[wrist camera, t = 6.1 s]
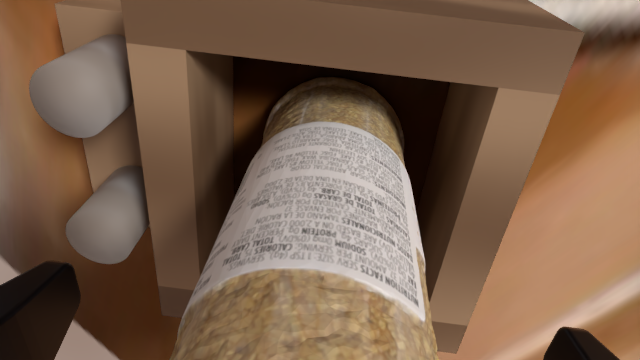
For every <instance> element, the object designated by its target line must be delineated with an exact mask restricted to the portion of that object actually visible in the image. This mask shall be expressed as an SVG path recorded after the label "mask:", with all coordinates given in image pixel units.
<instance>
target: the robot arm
mask: <svg viewBox="0 0 640 360" xmlns="http://www.w3.org/2000/svg"><path fill="white" fill-rule="evenodd" d="M79 303H80V290H79V287H78V283H77V279H76V275H75V271H74V268H73V266H72V265H71V264H70V263H66V262H58V261H46V262H43V263H41V264H39V265H38V266H36V267H34V268H32V269H30V270H28V271H26V272H24V273H23V274H21V275H19V276H17V277H15V278H13V279H11V280H9V281H8V282H6V283H4V284H2V285H0V360H54V359H55V356H56V354H57V352H58V350H59V348H60V346H61V344H62V341H63V339H64V337H65V335H66V333H67V330H68V328H69V326H70V324H71V322H72V320H73V318H74V316H75V313H76V311H77V309H78V307H79ZM543 360H620V359H619V358H617V357H616V356H615V355H614V354H613V353H612V352H611V351H610V350H609V349H607V348H606V347H605V346H604V345H603V344H602V343H601V342H600V341H598V340H597V339H596V338H595V337H594V336H593V335H592V334H591V333H589V332H588V331H586V330H584V329H579V328H571V327H562V328H560V329H559V330H558V331H557V333H556V335H555V336H554V338H553V340H552V342H551V344H550V345H549V347H548V349H547V351H546V353H545V355H544V359H543Z"/></svg>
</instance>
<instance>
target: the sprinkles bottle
mask: <svg viewBox="0 0 640 360" xmlns="http://www.w3.org/2000/svg"><path fill="white" fill-rule="evenodd" d="M403 153H404V134H403V131H402V127H401V123H400V121H399V119H398V117H397V115H396V113H395V111H394V110H393V108H392V107H391V106H390V104H389V103H388V102H387V101H386V100H385V99H384V98H383V97H382V96H381V95H380V94H379V93H378V92H377V91H376V90H375V89H373V88H371V87H369V86H366V85H363V84H361V83H359V82H357V81H354V80H350V79H345V78H340V77H327V78H316V79H313V80H310V81H307V82H304V83H302V84H300V85H298V86H296V87H295V88H293V89H291V90H290V91H288V92H287V93H286V94H285V95H284V96H283V97H282V98H281V99H279V101H278V102H277V103H276V104H275V106H274V107H273V108H272V110H271V112H270V115H269V118H268V119H267V121H266V125H265V130H264V133H263V142H262V145H261V148H260V149H259V151H258V152H257V153H256V155H255V156H254V158H253V159H252V161H251V162H250V165H249V167H248V169H247V171H246V173H245V175H244V178H243V180H242V182H241V185H240V187H239V189H238V192H237V194H236V196H235V199H234V201H233V203H232V205H231V208H230V210H229V212H228V214H227V217H226V219H225V221H224V223H223V226H222V228H221V230H220V233H219V235H218V237H217V239H216V242H215V244H214V246H213V249H212V251H211V253H210V255H209V258H208V260H207V262H206V265H205V267H204V269H203V272H202V274H201V276H200V278H199V280H198V283H197V285H196V287H195V289H194V291H193V294H192V296H191V298H190V300H189V303H188V305H187V307H186V310H185V312H184V314H183V317H182V320H181V323H180V326H179V330H178V335H177V341H176V343H175V347H174V350H173V353H172V355H171V357H170V360H439V358H438V356H437V344H436V338H435V334H434V330H433V326H432V322H431V311H430V306H429V299H428V293H427V286H426V276H425V258H424V253H423V248H422V242H421V237H420V231H419V226H418V220H417V215H416V210H415V204H414V198H413V192H412V187H411V183H410V179H409V176H408V173H407V171H406V169H405V163H404V157H403Z"/></svg>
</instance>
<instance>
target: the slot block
mask: <svg viewBox="0 0 640 360" xmlns="http://www.w3.org/2000/svg"><path fill="white" fill-rule="evenodd" d="M55 8H56V13H57V18H58V23H59V28H60V33H61V38H62V42H63V47H64V52H65V55H63V56H61V57H59V58H57V59H55V60H53V61H51V62H49V63H47V64H45V65H43V66H41V67H40V68H38V69H37V70H36V71H35V72H34V74H33V75H32V77H31V80H30V86H29V91H30V97H31V100H32V103H33V105H34V107H35V109H36V111H37V112H38V114H39V115H40V116H41V117H42V118H43V120H44V121H45V122H46V123H48V124H49V125H50V126H51V127H53V128H54V129H56V130H57V131H59V132H61V133H63V134H65V135H68V136H72V137H77V138H82V140H83V145H84V150H85V155H86V159H87V164H88V169H89V174H90V179H91V184H92V189H93V195H92V196H91V197H90V198H89V199H88V200H87V201H86V202H85V203H84V204H83V205H82V206H81V207H80V209H79V210H78V211H77V212H76V213H75V214H74V215H73V216H72V217H71V218H70V219H69V221H68V222H67V224H66V236H67V239H68V241H69V242H70V244H71V245H72V247H73V248H74V249H75V250H76V251H77V252H78V253H80V254H81V255H82V256H84V257H86V258H87V259H90V260H92V261H95V262H98V263H102V264H115V263H119V262H121V261H123V260H125V259H126V258H127V257H128V256H129V254H130V253H131V251H132V250H133V248H134V247H135V245H136V244H137V242H138V241H139V239H140V238H141V236H142V235H143V233H144V232H145V230H146V229H147V227H149V228H150V229H151V236H152V244H153V252H154V259H155V267H156V274H157V282H158V290H159V297H160V305H161V313H162V315H164V316H171V317H179V318H182V317H183V314H184V312H185V310H186V307H187V305H188V303H189V300H190V298H191V296H192V294H193V291H194V289H195V287H196V285H197V283H198V280H199V278H200V276H201V274H202V272H203V269H204V267H205V265H206V262H207V260H208V258H209V255H210V253H211V251H212V249H213V246H214V244H215V242H216V239H217V237H218V235H219V233H220V230H221V228H222V226H223V223H224V221H225V219H226V217H227V214H228V212H229V210H230V208H231V205H232V203H233V201H234V126H233V56H238V57H247V58H255V59H263V60H272V61H280V62H288V63H297V64H305V65H313V66H322V67H330V68H338V69H347V70H355V71H363V72H372V73H380V74H388V75H397V76H405V77H413V78H422V79H430V80H438V81H447V82H450V86H449V90H448V93H447V97H446V101H445V105H444V109H443V113H442V116H441V120H440V124H439V128H438V132H437V136H436V140H435V143H434V147H433V151H432V155H431V159H430V163H429V167H428V170H427V174H426V178H425V182H424V186H423V190H422V194H421V197H420V201H419V205H418V209H417V213H416V215H417V220H418V226H419V231H420V237H421V242H422V248H423V253H424V258H425V276H426V286H427V293H428V299H429V306H430V311H431V322H432V326H433V330H434V334H435V338H436V344H437V351H440V352H447V353H455V354H456V353H457V351H458V348H459V346H460V343H461V341H462V338H463V336H464V333H465V331H466V328H467V326H468V323H469V321H470V318H471V316H472V313H473V311H474V308H475V306H476V303H477V301H478V298H479V296H480V293H481V291H482V288H483V286H484V283H485V281H486V278H487V276H488V273H489V271H490V268H491V266H492V263H493V261H494V258H495V256H496V253H497V251H498V248H499V246H500V243H501V241H502V238H503V236H504V233H505V231H506V228H507V226H508V223H509V221H510V218H511V216H512V213H513V211H514V208H515V206H516V203H517V201H518V198H519V196H520V193H521V191H522V188H523V186H524V183H525V181H526V178H527V176H528V173H529V171H530V168H531V166H532V163H533V161H534V158H535V156H536V153H537V151H538V148H539V146H540V143H541V141H542V138H543V136H544V133H545V131H546V128H547V126H548V123H549V121H550V118H551V116H552V113H553V111H554V108H555V106H556V103H557V101H558V98H559V96H560V93H561V91H562V88H563V86H564V83H565V81H566V78H567V76H568V73H569V71H570V68H571V66H572V63H573V61H574V58H575V56H576V53H577V51H578V48H579V46H580V43H581V41H582V38H583V36H584V32H582V31H581V30H579V29H577V28H575V27H574V26H572V25H570V24H568V23H567V22H565V21H563V20H561V19H560V18H558V17H556V16H554V15H553V14H551V13H549V12H547V11H546V10H544V9H542V8H540V7H539V6H537V5H535V4H533V3H532V2H530V1H528V0H65V1H62V2H58V3H55Z"/></svg>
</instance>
